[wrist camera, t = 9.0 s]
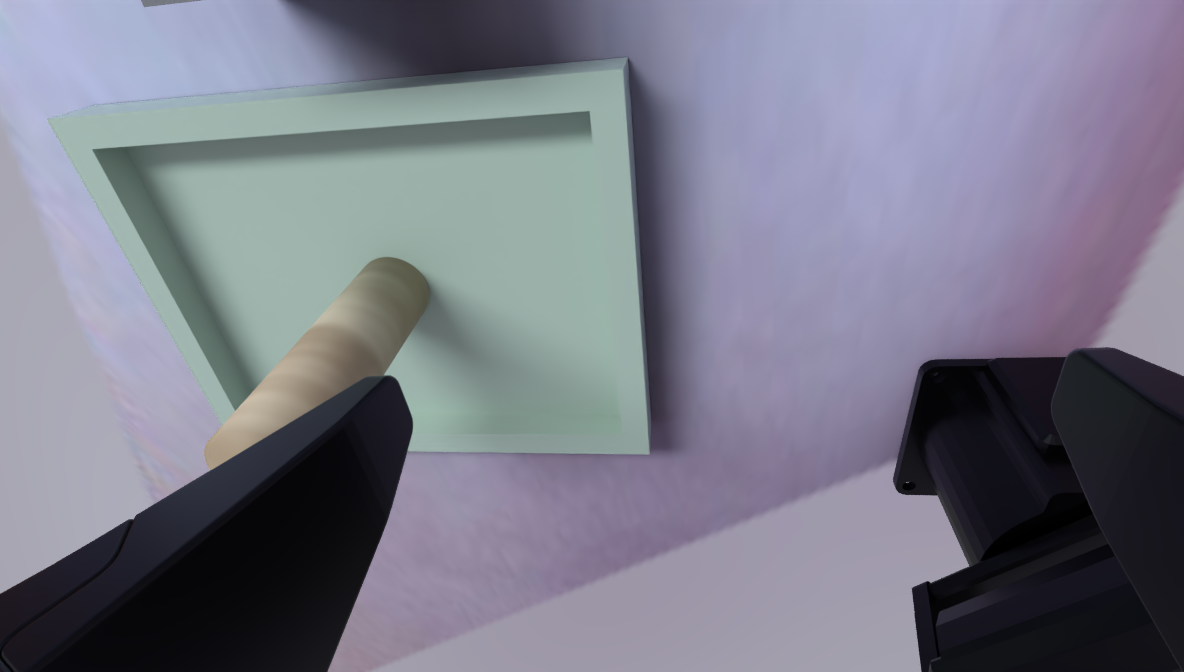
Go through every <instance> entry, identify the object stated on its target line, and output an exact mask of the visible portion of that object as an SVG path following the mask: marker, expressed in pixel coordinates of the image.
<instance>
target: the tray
mask: <svg viewBox="0 0 1184 672" xmlns="http://www.w3.org/2000/svg"><path fill="white" fill-rule="evenodd" d="M47 121H48V122H49V124H50V126H51V128H52V129H53V131H54V133H55V135H56V136H57V138H58V140H59V142H60V143H61V145H62V147H63V149H64V150H65V152H66V154H67V156H68V157H69V159H70V161H71V163H72V164H73V166H74V168H75V170H76V171H77V173H78V175H79V177H80V178H81V180H82V182H83V184H84V185H85V187H86V189H87V191H88V192H89V194H90V196H91V198H92V199H93V201H94V203H95V205H96V206H97V208H98V210H99V212H100V213H101V215H102V217H103V219H104V220H105V222H106V224H107V226H108V227H109V229H110V231H111V232H112V234H113V236H114V238H115V239H116V241H117V243H118V245H119V246H120V248H121V250H122V252H123V253H124V255H125V257H126V259H127V260H128V262H129V264H130V266H131V267H132V269H133V271H134V273H135V274H136V276H137V278H138V280H139V281H140V283H141V285H142V287H143V288H144V290H145V292H146V294H147V295H148V297H149V299H150V301H151V302H152V304H153V306H154V308H155V309H156V311H157V313H158V315H159V316H160V318H161V320H162V322H163V323H164V325H165V327H166V329H167V330H168V332H169V334H170V336H171V337H172V339H173V341H174V343H175V344H176V346H177V348H178V350H179V351H180V353H181V355H182V357H183V358H184V360H185V362H186V364H187V365H188V367H189V369H190V371H191V372H192V374H193V376H194V378H195V379H196V381H197V383H198V385H199V386H200V388H201V390H202V392H203V393H204V395H205V397H206V398H207V400H208V402H209V404H210V405H211V407H212V409H213V411H214V412H215V414H216V416H217V418H218V419H219V421H220V423H221V425H223V424H224V423H225V422H226V421H227V420H228V419H229V417H230V416H231V415H232V414H233V413H234V412H235V411H236V410H237V409H238V407H239V406H240V405H241V404H242V403H243V402H244V401H245V400H246V399H247V397H248V396H249V395H250V394H251V393H252V392H253V391H254V390H255V389H256V387H257V386H258V385H259V384H260V383H261V382H262V381H263V380H264V379H265V377H266V376H267V375H268V374H269V373H270V372H271V371H272V370H273V368H274V367H275V366H276V365H277V364H278V363H279V362H280V361H281V360H282V358H283V357H284V356H285V355H286V354H287V353H288V352H289V351H290V350H291V348H292V347H293V346H294V345H295V344H296V343H297V342H298V341H299V340H300V338H301V337H302V336H303V335H304V334H305V333H306V332H307V331H308V330H309V328H310V327H311V326H312V325H313V324H314V323H315V322H316V321H317V319H318V318H319V317H320V316H321V315H322V314H323V313H324V312H325V311H326V309H327V308H328V307H329V306H330V305H331V304H332V303H333V302H334V301H335V299H336V298H337V297H338V296H339V295H340V294H341V293H342V292H343V291H344V289H345V288H346V287H347V286H348V285H349V284H350V283H351V282H352V280H353V279H354V278H355V277H356V276H357V275H358V274H359V273H360V272H361V270H362V269H363V268H364V267H365V266H366V265H367V264H368V263H369V262H371V261H372V260H374V259H377V258H381V257H393V258H398V259H401V260H404V261H406V262H408V263H409V264H411V265H413V266H414V267H415V268H416V269H417V270H419V271H420V273H421V274H422V275H423V276H424V278H425V279H426V281H427V283H428V286H429V289H430V302H429V305H428V307H427V308H426V310H425V312H424V313H423V315H422V316H421V318H420V319H419V321H418V322H417V324H416V326H415V327H414V329H413V330H412V332H411V333H410V335H409V336H408V338H407V340H406V341H405V343H404V344H403V346H402V347H401V349H400V351H399V352H398V354H397V355H396V357H395V358H394V360H393V361H392V363H391V365H390V366H389V368H388V369H387V371H386V372H385V374H384V375H391V376H393V377H395V378H396V379H397V380H398V382H399V384H400V386H401V389H402V391H403V394H404V397H405V399H406V402H407V404H408V407H409V410H410V412H411V415H412V418H413V433H412V437H411V440H410V444H409V447H408V451H419V452H497V453H574V454H650V440H651V424H652V423H651V407H650V392H649V376H648V361H647V345H646V330H645V314H644V299H643V283H642V268H641V252H640V237H639V221H638V206H637V190H636V174H635V159H634V143H633V128H632V112H631V97H630V81H629V66H628V57H623V58H612V59H601V60H590V61H579V62H568V63H557V64H546V65H535V66H524V67H512V68H501V69H490V70H479V71H468V72H457V73H446V74H435V75H424V76H413V77H401V78H390V79H379V80H368V81H357V82H346V83H335V84H324V85H313V86H302V87H290V88H279V89H268V90H257V91H246V92H235V93H224V94H213V95H202V96H191V97H179V98H168V99H157V100H146V101H135V102H124V103H113V104H102V105H92V106H89V107H86V108H82V109H79V110H76V111H72V112H69V113H66V114H62V115H59V116H56V117H52V118H49V119H47Z"/></svg>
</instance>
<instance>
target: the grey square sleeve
mask: <svg viewBox="0 0 1184 672" xmlns="http://www.w3.org/2000/svg"><path fill="white" fill-rule="evenodd" d="M141 1H142V3H143V5H144V7H149V6H158V5H166V4H174V3H183V2H191V1H200V0H141Z"/></svg>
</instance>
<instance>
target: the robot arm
mask: <svg viewBox="0 0 1184 672" xmlns="http://www.w3.org/2000/svg"><path fill="white" fill-rule="evenodd" d="M935 372H940V373H939V374H938V375H936V376H931V374H933V373H935ZM412 433H413V418H412V415H411V412H410V410H409V407H408V404H407V402H406V399H405V397H404V394H403V391H402V389H401V386H400V384H399V382H398V380H397V379H396V378H395V377H393V376H391V375H381V376H368V377H365V378H363V379H361V380H360V381H358V382H356V383H355V384H353V385H351V386H350V387H348V388H346V389H345V390H343V391H341V392H340V393H338V394H336V395H335V396H333V397H331V398H330V399H328V400H326V401H325V402H323V403H321V404H320V405H318V406H316V407H315V408H313V409H312V410H310V411H308V412H307V413H305V414H303V415H302V416H300V417H298V418H297V419H295V420H293V421H292V422H290V423H288V424H287V425H285V426H283V427H282V428H280V429H278V430H277V431H275V432H273V433H272V434H270V435H268V436H267V437H265V438H263V439H262V440H260V441H258V442H257V443H255V444H253V445H252V446H250V447H248V448H247V449H245V450H243V451H242V452H240V453H238V454H237V455H235V456H234V457H232V458H230V459H229V460H227V461H225V462H224V463H222V464H220V465H219V466H217V467H215V468H214V469H212V470H210V471H209V472H207V473H205V474H204V475H202V476H200V477H199V478H197V479H195V480H194V481H192V482H190V483H189V484H187V485H185V486H184V487H182V488H180V489H179V490H177V491H175V492H174V493H172V494H170V495H169V496H167V497H165V498H164V499H162V500H160V501H159V502H157V503H156V504H154V505H152V506H151V507H149V508H148V509H146V510H144V511H142V512H141V513H139V514H137V515H136V516H135V518H134V520H133V519H129V520H127V521H125V522H124V523H122V524H120V525H119V526H117V527H115V528H114V529H112V530H110V531H109V532H107V533H106V534H104V535H102V536H101V537H99V538H97V539H95V540H94V541H92V542H90V543H89V544H87V545H85V546H84V547H82V548H80V549H78V550H77V551H75V552H73V553H72V554H70V555H68V556H66V557H65V558H63V559H61V560H60V561H58V562H56V563H55V564H53V565H51V566H49V567H47V568H46V569H44V570H42V571H40V572H38V573H37V574H35V575H33V576H31V577H30V578H28V579H26V580H24V581H22V582H21V583H19V584H17V585H15V586H13V587H12V588H10V589H8V590H6V591H4V592H3V593H1V594H0V672H328V669H329V667H330V664H331V662H332V659H333V657H334V654H335V652H336V649H337V647H338V644H339V642H340V639H341V637H342V634H343V632H344V629H345V627H346V624H347V622H348V619H349V617H350V614H351V612H352V609H353V607H354V604H355V602H356V599H357V597H358V594H359V592H360V589H361V587H362V584H363V582H364V579H365V577H366V574H367V572H368V569H369V567H370V564H371V562H372V559H373V557H374V554H375V552H376V549H377V547H378V544H379V542H380V539H381V537H382V534H383V531H384V529H385V526H386V523H387V521H388V518H389V514H390V511H391V508H392V505H393V501H394V498H395V494H396V490H397V487H398V483H399V480H400V476H401V473H402V469H403V465H404V462H405V458H406V455H407V451H408V447H409V444H410V440H411V437H412ZM893 482H894V485H895V487H896V490H897V491H898V492H899V493H901V494H905V495H938V497H939V499H940V502H941V504H942V506H943V508H944V510H945V513H946V515H947V517H948V519H949V521H950V524H951V526H952V528H953V530H954V533H955V535H956V537H957V539H958V542H959V544H960V546H961V548H962V550H963V553H964V555H965V557H966V559H967V561H968V564H969V567H967V568H964V569H962V570H960V571H958V572H955V573H953V574H951V575H949V576H946V577H944V578H941V579H939V580H937V581H934V582H932V583H930V582H928V581H927V582H924V583H922V584H920V585H917V586H915V587H913V588H912V593H913V602H914V611H915V622H916V630H917V638H918V647H919V655H920V663H921V671H922V672H1184V376H1182V375H1179V374H1177V373H1175V372H1172V371H1170V370H1167V369H1165V368H1162V367H1160V366H1157V365H1155V364H1152V363H1150V362H1147V361H1145V360H1143V359H1140V358H1138V357H1135V356H1133V355H1130V354H1128V353H1125V352H1123V351H1120V350H1118V349H1115V348H1109V347H1105V348H1081V349H1075V350H1073V351H1072V352H1070V353H1069V354H1068V356H1067V357H1042V358H995V359H938V360H930V361H928V362H926V363H924V364H923V365H922V366H921V367H920V369H919V371H918V375H917V379H916V383H915V388H914V392H913V396H912V400H911V405H910V409H909V413H908V417H907V421H906V426H905V430H904V434H903V438H902V443H901V447H900V451H899V455H898V460H897V464H896V468H895V473H894V477H893ZM906 482H909V483H906Z"/></svg>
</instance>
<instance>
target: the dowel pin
mask: <svg viewBox="0 0 1184 672" xmlns="http://www.w3.org/2000/svg"><path fill="white" fill-rule="evenodd" d="M429 302H430V289H429V286H428V283H427V281H426V279H425V278H424V276H423V275H422V274H421V273H420V271H419V270H417V269H416V268H415V267H414V266H413V265H411V264H409V263H408V262H406V261H404V260H401V259H398V258H393V257H381V258H377V259H374V260H372V261H371V262H369V263H368V264H367V265H366V266H365V267H364V268H363V269H362V270H361V272H360V273H359V274H358V275H357V276H356V277H355V278H354V279H353V280H352V282H351V283H350V284H349V285H348V286H347V287H346V288H345V289H344V291H343V292H342V293H341V294H340V295H339V296H338V297H337V298H336V299H335V301H334V302H333V303H332V304H331V305H330V306H329V307H328V308H327V309H326V311H325V312H324V313H323V314H322V315H321V316H320V317H319V318H318V319H317V321H316V322H315V323H314V324H313V325H312V326H311V327H310V328H309V330H308V331H307V332H306V333H305V334H304V335H303V336H302V337H301V338H300V340H299V341H298V342H297V343H296V344H295V345H294V346H293V347H292V348H291V350H290V351H289V352H288V353H287V354H286V355H285V356H284V357H283V358H282V360H281V361H280V362H279V363H278V364H277V365H276V366H275V367H274V368H273V370H272V371H271V372H270V373H269V374H268V375H267V376H266V377H265V379H264V380H263V381H262V382H261V383H260V384H259V385H258V386H257V387H256V389H255V390H254V391H253V392H252V393H251V394H250V395H249V396H248V397H247V399H246V400H245V401H244V402H243V403H242V404H241V405H240V406H239V407H238V409H237V410H236V411H235V412H234V413H233V414H232V415H231V416H230V417H229V419H228V420H227V421H226V422H225V423H224V424H223V425H222V426H221V428H220V429H219V430H218V431H217V432H216V433H215V434H214V435H213V436H212V438H211V439H210V440H209V441H208V442H207V444H206V446H205V451H204V456H205V461H206V463H207V466H208V468H209V469H210V470H212V469H214V468H215V467H217V466H219V465H220V464H222V463H224V462H225V461H227V460H229V459H230V458H232V457H234V456H235V455H237V454H238V453H240V452H242V451H243V450H245V449H247V448H248V447H250V446H252V445H253V444H255V443H257V442H258V441H260V440H262V439H263V438H265V437H267V436H268V435H270V434H272V433H273V432H275V431H277V430H278V429H280V428H282V427H283V426H285V425H287V424H288V423H290V422H292V421H293V420H295V419H297V418H298V417H300V416H302V415H303V414H305V413H307V412H308V411H310V410H312V409H313V408H315V407H316V406H318V405H320V404H321V403H323V402H325V401H326V400H328V399H330V398H331V397H333V396H335V395H336V394H338V393H340V392H341V391H343V390H345V389H346V388H348V387H350V386H351V385H353V384H355V383H356V382H358V381H360V380H361V379H363V378H365V377H368V376H381V375H384V374H385V372H386V371H387V369H388V368H389V366H390V365H391V363H392V361H393V360H394V358H395V357H396V355H397V354H398V352H399V351H400V349H401V347H402V346H403V344H404V343H405V341H406V340H407V338H408V336H409V335H410V333H411V332H412V330H413V329H414V327H415V326H416V324H417V322H418V321H419V319H420V318H421V316H422V315H423V313H424V312H425V310H426V308H427V307H428V305H429Z"/></svg>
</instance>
